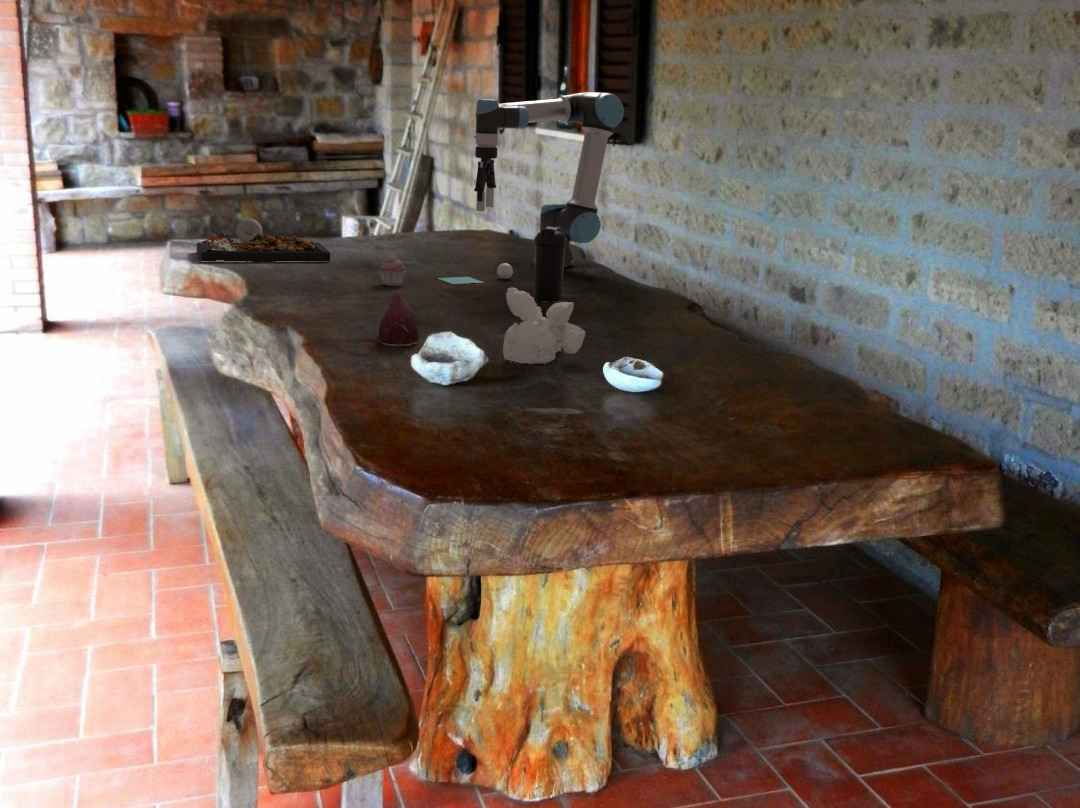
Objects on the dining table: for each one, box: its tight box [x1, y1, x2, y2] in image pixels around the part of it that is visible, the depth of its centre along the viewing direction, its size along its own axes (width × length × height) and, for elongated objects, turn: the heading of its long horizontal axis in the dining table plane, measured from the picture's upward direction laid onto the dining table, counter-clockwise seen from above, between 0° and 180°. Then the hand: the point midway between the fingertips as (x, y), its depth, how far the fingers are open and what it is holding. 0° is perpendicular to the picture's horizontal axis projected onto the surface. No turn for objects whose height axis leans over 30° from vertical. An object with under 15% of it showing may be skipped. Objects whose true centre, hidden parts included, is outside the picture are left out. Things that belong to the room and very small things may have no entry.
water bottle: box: [533, 227, 567, 302], centre depth 360 cm, size 10×10×23 cm
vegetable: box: [377, 289, 420, 345], centre depth 293 cm, size 10×10×15 cm
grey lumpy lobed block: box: [502, 286, 586, 364], centre depth 283 cm, size 19×20×20 cm
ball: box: [496, 262, 514, 280], centre depth 398 cm, size 6×6×6 cm
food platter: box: [196, 227, 331, 262], centre depth 418 cm, size 45×25×10 cm, turn 110°
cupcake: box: [378, 254, 407, 287], centre depth 375 cm, size 9×9×10 cm
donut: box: [235, 218, 263, 243], centre depth 449 cm, size 10×4×10 cm, turn 104°
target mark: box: [436, 276, 485, 286], centre depth 390 cm, size 12×12×1 cm
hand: (485, 209), depth 395 cm, fingers open, 13 cm apart
